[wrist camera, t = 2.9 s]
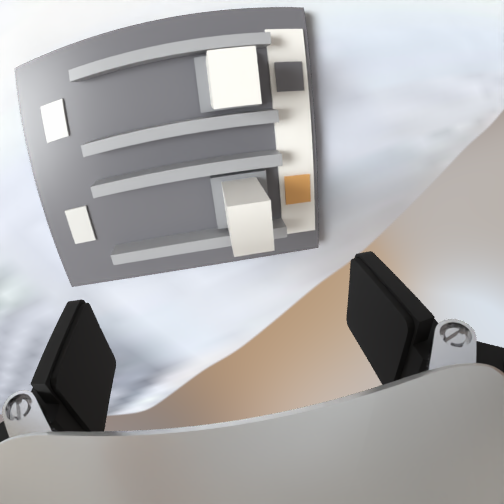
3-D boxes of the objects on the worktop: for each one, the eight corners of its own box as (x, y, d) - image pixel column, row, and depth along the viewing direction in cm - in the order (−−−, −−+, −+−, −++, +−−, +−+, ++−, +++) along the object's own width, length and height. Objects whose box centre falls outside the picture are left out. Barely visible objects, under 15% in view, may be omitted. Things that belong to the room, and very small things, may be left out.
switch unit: (299, 11, 15) (311, 2, 13) (314, 241, 23) (325, 257, 21) (21, 68, 14) (3, 68, 12) (75, 279, 21) (66, 298, 19)
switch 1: (251, 52, 15) (269, 38, 11) (257, 105, 17) (276, 109, 13) (194, 59, 15) (191, 46, 11) (200, 112, 17) (200, 118, 12)
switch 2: (263, 167, 19) (282, 192, 14) (267, 216, 20) (286, 254, 16) (209, 175, 18) (212, 202, 14) (217, 224, 20) (222, 264, 16)
